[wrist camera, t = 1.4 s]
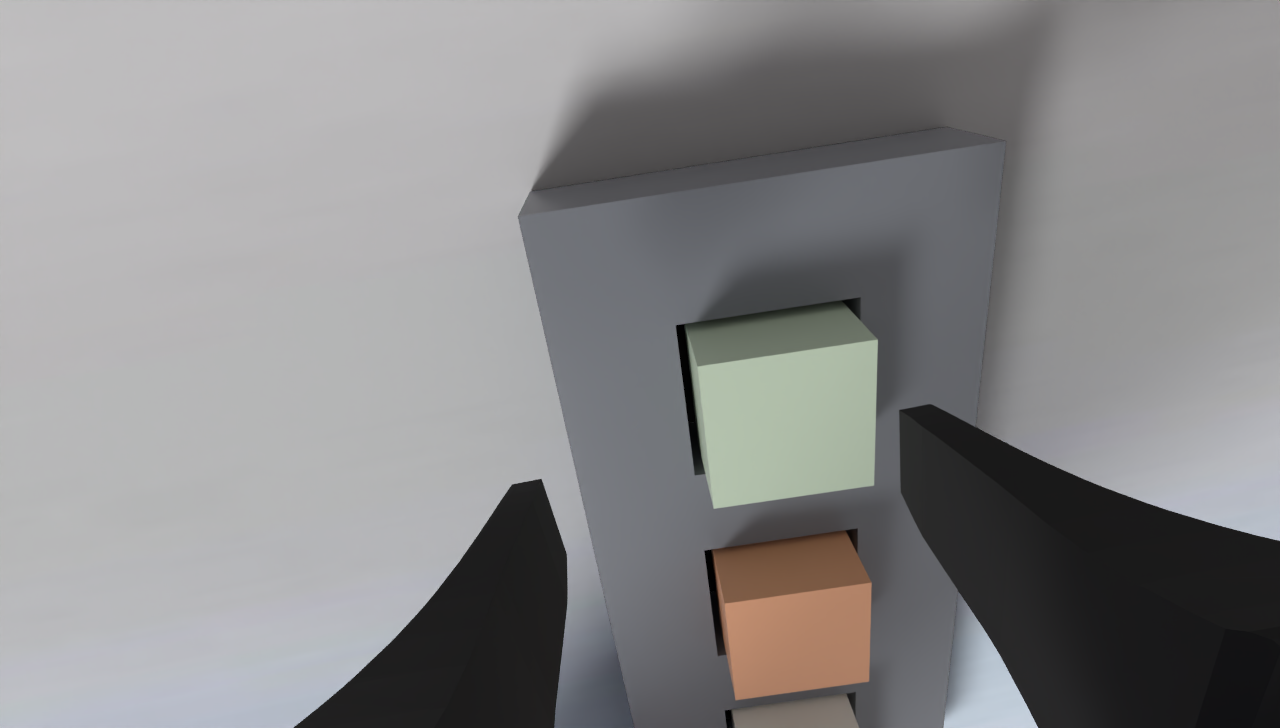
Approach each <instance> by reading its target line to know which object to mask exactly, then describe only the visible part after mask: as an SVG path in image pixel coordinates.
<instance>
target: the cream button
mask: <svg viewBox="0 0 1280 728" xmlns="http://www.w3.org/2000/svg"><path fill="white" fill-rule="evenodd" d="M731 718H732V727H733V728H859V726H858V723H857V721H856V718H855V715H854V713H853V710H852V707H851V705H850V702H849V699H848V697H847V694H846V693H845V694H838V695H831V696H824V697H817V698H809V699H802V700H795V701H788V702H781V703H774V704H767V705H760V706H752V707H745V708H738V709H731Z"/></svg>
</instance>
